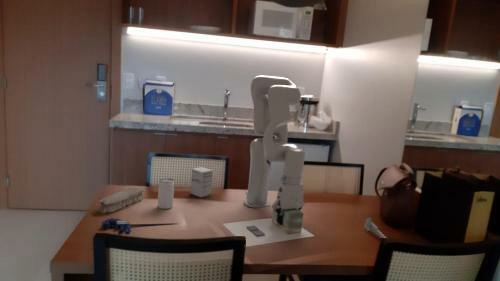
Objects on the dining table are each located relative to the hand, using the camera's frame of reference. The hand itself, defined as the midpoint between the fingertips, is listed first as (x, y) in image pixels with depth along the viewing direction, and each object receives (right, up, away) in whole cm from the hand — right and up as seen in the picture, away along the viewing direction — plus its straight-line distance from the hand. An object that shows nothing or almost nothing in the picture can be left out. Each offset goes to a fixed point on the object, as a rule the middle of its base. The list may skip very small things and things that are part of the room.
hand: (286, 222), depth 150 cm
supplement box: (-39, +6, +34) cm, 52 cm away
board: (-8, -4, -4) cm, 9 cm away
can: (-52, +4, +14) cm, 53 cm away
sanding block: (0, -2, 0) cm, 2 cm away
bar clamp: (-53, 0, -8) cm, 54 cm away
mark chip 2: (-11, -3, -9) cm, 14 cm away
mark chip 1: (-14, -2, -5) cm, 14 cm away
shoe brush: (-70, +5, +11) cm, 71 cm away
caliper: (+38, -8, +1) cm, 38 cm away
